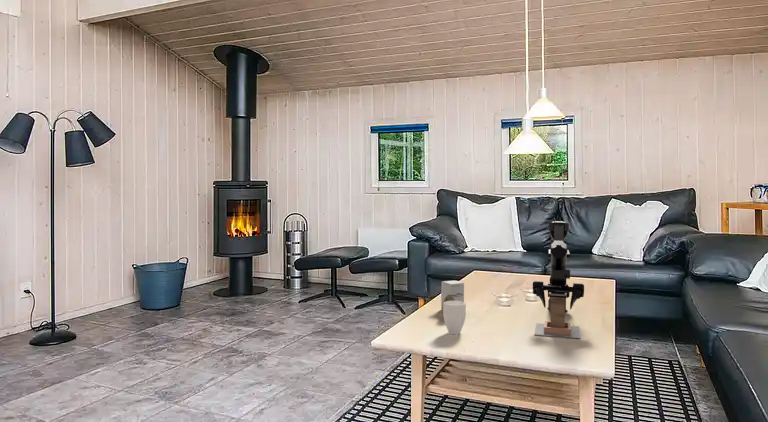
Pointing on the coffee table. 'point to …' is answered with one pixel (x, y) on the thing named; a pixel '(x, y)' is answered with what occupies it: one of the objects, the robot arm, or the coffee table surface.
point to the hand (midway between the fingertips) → (557, 307)
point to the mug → (454, 316)
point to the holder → (557, 331)
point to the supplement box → (452, 290)
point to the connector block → (557, 312)
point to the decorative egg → (448, 299)
